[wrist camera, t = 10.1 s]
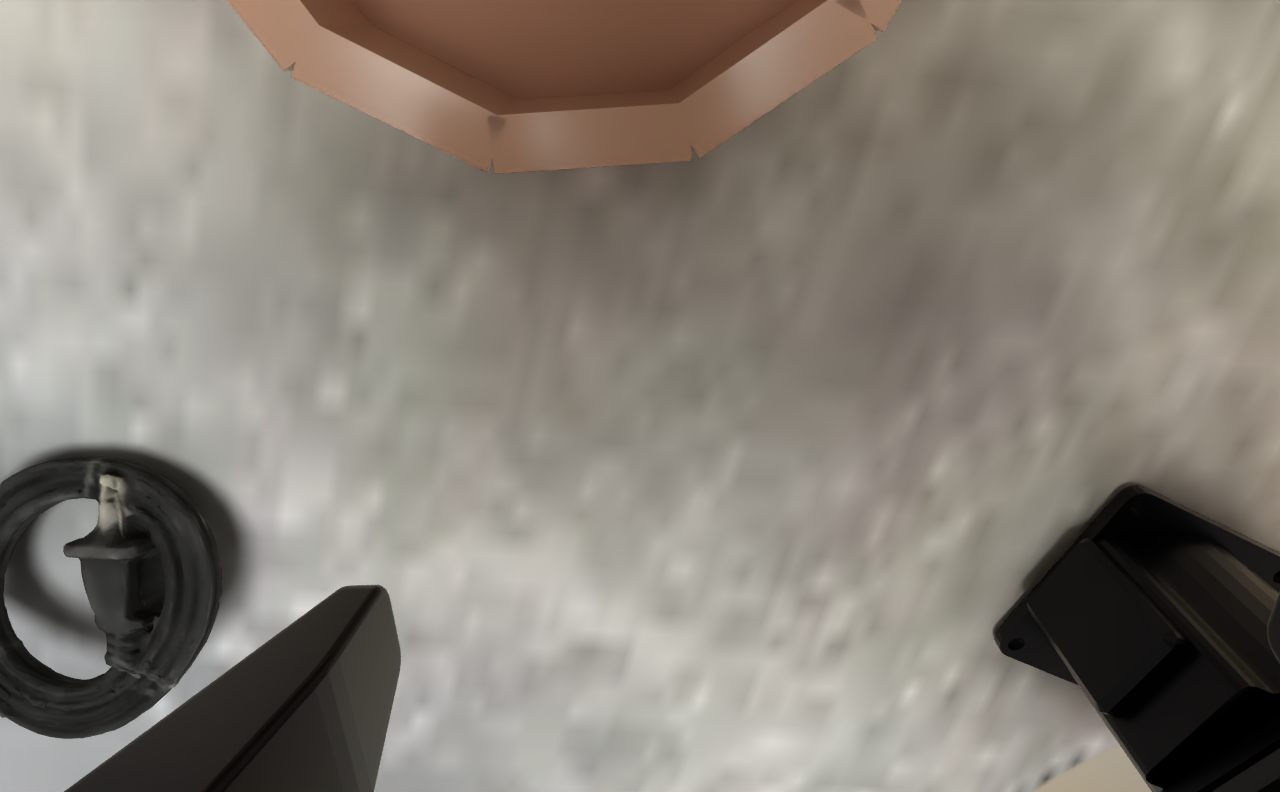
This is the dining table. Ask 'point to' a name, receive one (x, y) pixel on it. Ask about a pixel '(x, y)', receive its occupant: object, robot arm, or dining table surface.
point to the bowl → (564, 69)
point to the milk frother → (113, 593)
